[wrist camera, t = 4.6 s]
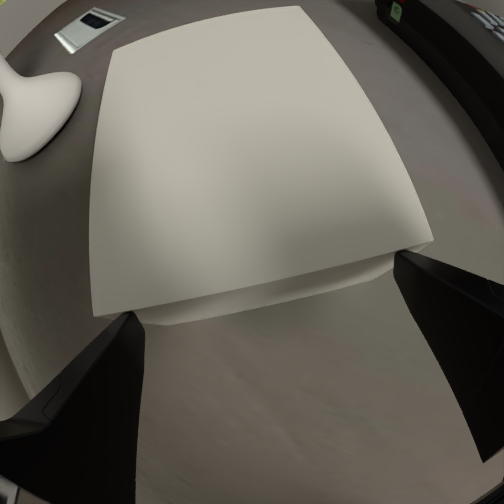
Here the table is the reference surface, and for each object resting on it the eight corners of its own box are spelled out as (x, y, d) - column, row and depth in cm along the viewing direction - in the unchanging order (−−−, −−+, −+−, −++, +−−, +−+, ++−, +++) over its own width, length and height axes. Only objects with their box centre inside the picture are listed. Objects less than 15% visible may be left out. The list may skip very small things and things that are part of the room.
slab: (372, 280, 16) (434, 240, 8) (169, 325, 16) (93, 316, 9) (298, 83, 20) (298, 5, 13) (151, 117, 21) (113, 50, 13)
